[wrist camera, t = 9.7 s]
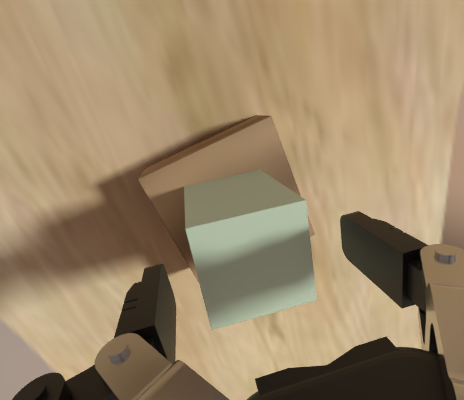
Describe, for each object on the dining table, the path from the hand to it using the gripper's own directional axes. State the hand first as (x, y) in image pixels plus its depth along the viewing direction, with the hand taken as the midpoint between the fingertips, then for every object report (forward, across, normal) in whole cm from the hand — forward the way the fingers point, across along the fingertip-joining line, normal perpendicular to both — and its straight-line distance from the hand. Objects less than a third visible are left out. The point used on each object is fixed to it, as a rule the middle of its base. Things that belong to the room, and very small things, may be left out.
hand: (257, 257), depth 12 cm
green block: (+7, 0, 0) cm, 7 cm away
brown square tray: (+11, 0, 0) cm, 11 cm away
